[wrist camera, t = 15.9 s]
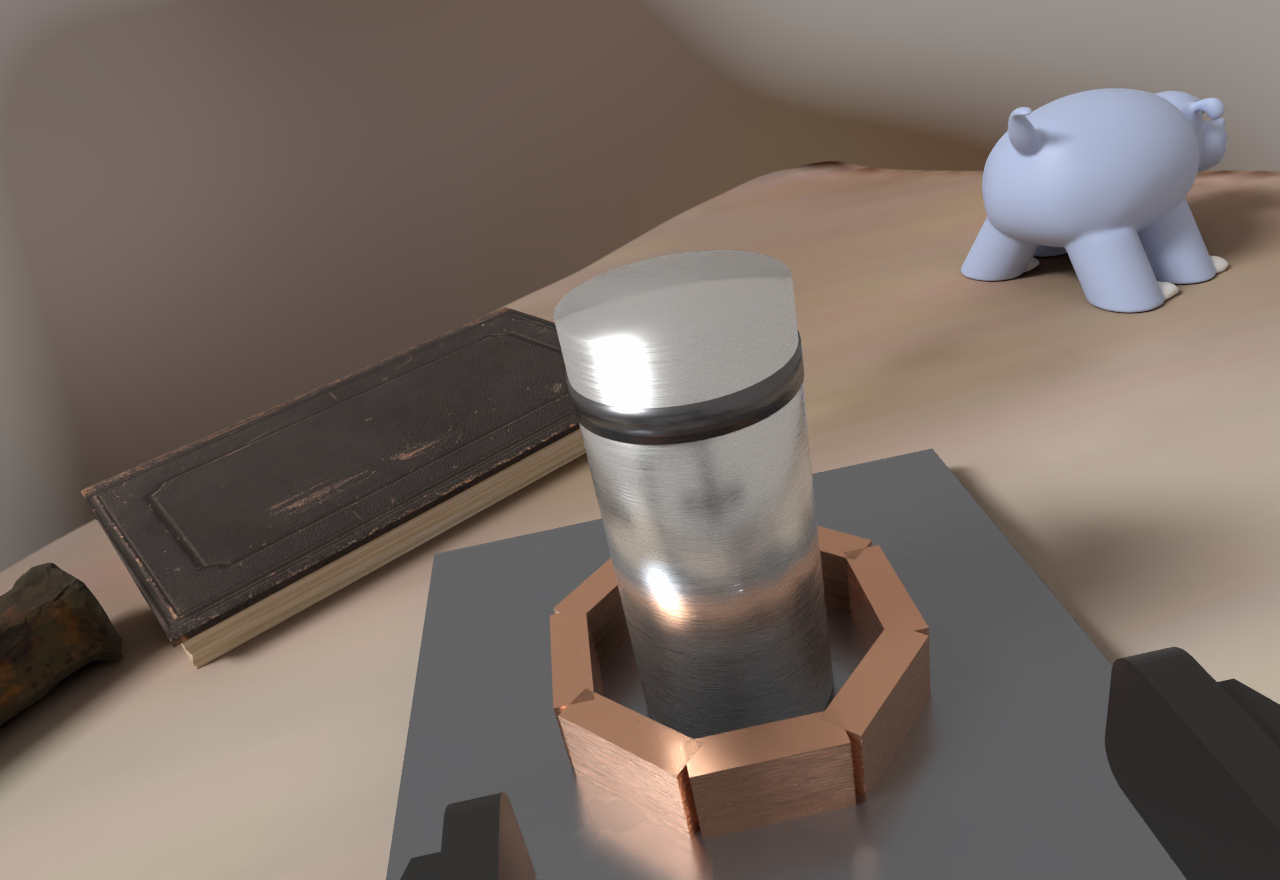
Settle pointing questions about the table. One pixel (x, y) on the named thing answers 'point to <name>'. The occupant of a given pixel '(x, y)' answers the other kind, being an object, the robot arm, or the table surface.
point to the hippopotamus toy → (1102, 194)
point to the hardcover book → (339, 480)
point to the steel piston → (704, 482)
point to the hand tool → (48, 635)
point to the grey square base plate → (792, 748)
